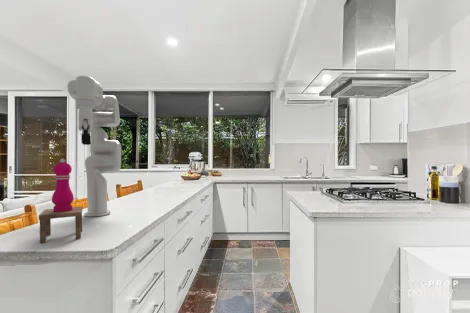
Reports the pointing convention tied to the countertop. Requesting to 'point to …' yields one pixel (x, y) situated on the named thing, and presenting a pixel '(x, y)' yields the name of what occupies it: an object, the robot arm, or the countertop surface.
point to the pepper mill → (62, 188)
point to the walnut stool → (50, 214)
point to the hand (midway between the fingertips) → (86, 144)
